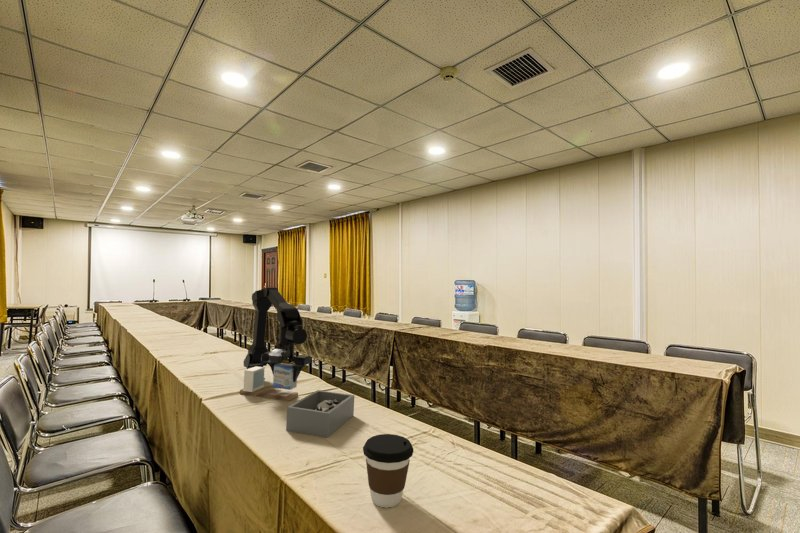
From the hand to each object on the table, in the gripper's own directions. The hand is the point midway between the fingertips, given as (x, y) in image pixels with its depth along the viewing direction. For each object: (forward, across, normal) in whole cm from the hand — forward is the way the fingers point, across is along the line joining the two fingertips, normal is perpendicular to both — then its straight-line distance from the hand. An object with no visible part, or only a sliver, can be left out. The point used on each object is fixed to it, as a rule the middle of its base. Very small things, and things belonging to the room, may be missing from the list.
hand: (285, 380), depth 147 cm
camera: (+6, +27, -19) cm, 33 cm away
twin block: (+5, -14, 0) cm, 15 cm away
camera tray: (+6, +25, -17) cm, 31 cm away
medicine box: (+3, 0, 0) cm, 3 cm away
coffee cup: (+6, +58, -50) cm, 77 cm away
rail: (+6, -7, 0) cm, 9 cm away
